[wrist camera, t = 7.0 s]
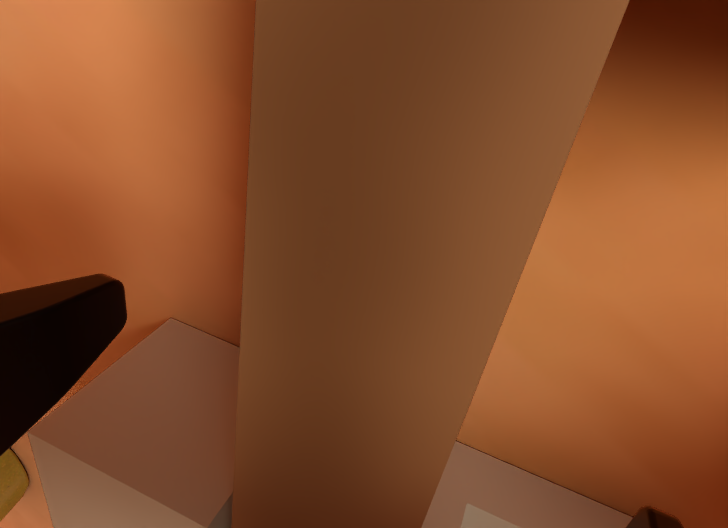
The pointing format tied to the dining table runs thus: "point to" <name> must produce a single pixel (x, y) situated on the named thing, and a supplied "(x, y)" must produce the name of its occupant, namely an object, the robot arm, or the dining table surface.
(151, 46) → the dining table surface
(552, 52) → the walnut bar
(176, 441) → the notch rack
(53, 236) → the dining table surface
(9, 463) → the plant pot
